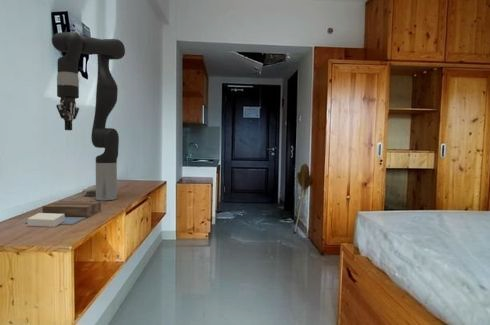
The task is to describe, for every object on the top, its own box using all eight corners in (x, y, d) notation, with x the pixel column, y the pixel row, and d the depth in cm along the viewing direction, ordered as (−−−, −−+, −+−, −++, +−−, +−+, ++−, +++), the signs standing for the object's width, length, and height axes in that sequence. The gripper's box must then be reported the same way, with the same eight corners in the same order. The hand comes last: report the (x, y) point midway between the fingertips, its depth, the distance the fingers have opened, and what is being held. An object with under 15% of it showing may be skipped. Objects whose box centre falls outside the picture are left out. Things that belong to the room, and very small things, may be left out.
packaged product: (112, 192, 186) (93, 193, 184) (112, 183, 186) (92, 184, 184) (104, 197, 168) (82, 199, 167) (103, 188, 168) (81, 189, 166)
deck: (60, 210, 137) (60, 200, 137) (100, 211, 137) (100, 201, 137) (42, 217, 125) (42, 206, 125) (86, 218, 125) (86, 207, 125)
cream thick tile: (27, 218, 112) (27, 225, 112) (53, 219, 112) (54, 226, 112) (38, 212, 118) (39, 219, 118) (64, 213, 117) (65, 220, 118)
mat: (41, 217, 125) (41, 216, 125) (85, 218, 125) (85, 217, 125) (24, 223, 115) (24, 222, 115) (72, 224, 115) (72, 223, 115)
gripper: (67, 87, 140) (67, 130, 141) (48, 82, 127) (49, 129, 128) (85, 88, 140) (86, 131, 141) (68, 82, 127) (69, 129, 128)
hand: (68, 130), depth 134 cm, fingers closed
